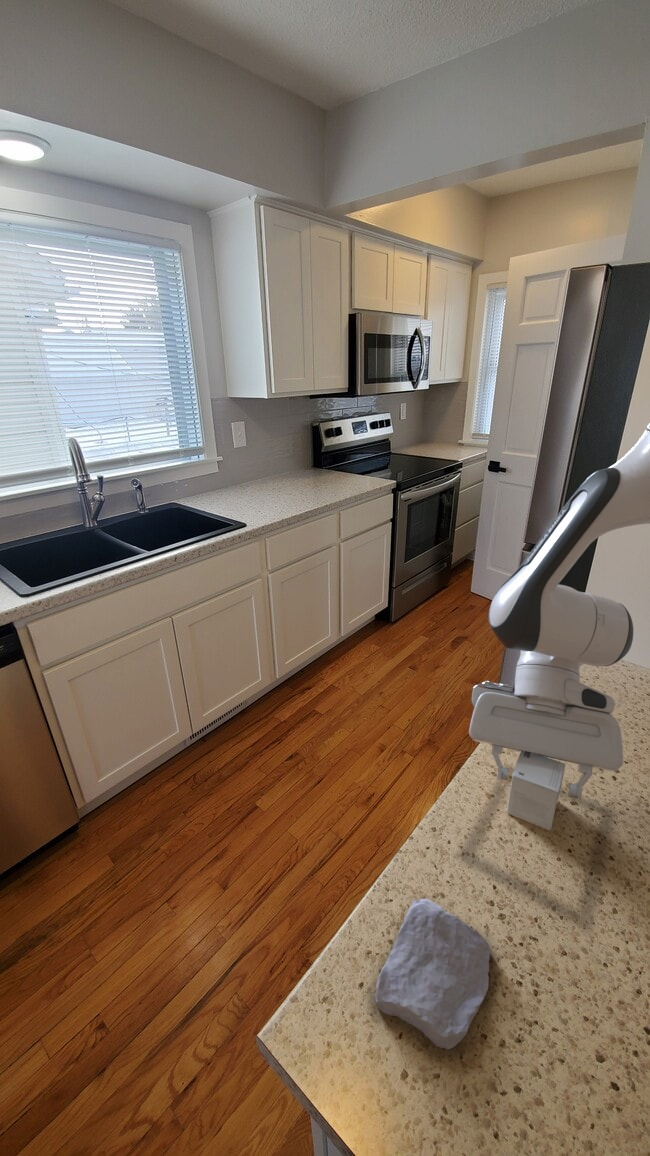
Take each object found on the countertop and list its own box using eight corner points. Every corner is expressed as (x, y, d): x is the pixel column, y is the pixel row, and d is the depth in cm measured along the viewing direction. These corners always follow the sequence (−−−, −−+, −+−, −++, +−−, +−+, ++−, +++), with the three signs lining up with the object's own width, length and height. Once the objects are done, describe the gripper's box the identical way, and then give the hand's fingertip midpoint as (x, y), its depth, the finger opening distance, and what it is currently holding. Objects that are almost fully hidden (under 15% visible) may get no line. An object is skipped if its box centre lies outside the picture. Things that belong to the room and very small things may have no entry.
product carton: (551, 832, 67) (559, 793, 64) (505, 813, 70) (511, 775, 67) (557, 800, 71) (566, 763, 68) (515, 784, 74) (521, 747, 72)
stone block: (489, 958, 56) (409, 904, 59) (502, 939, 53) (418, 884, 57) (456, 1081, 47) (365, 1007, 50) (470, 1065, 44) (373, 988, 48)
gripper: (473, 674, 73) (460, 770, 69) (628, 702, 66) (624, 810, 62) (473, 682, 79) (462, 771, 75) (616, 708, 72) (612, 807, 68)
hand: (537, 789), depth 68 cm, fingers open, 8 cm apart
